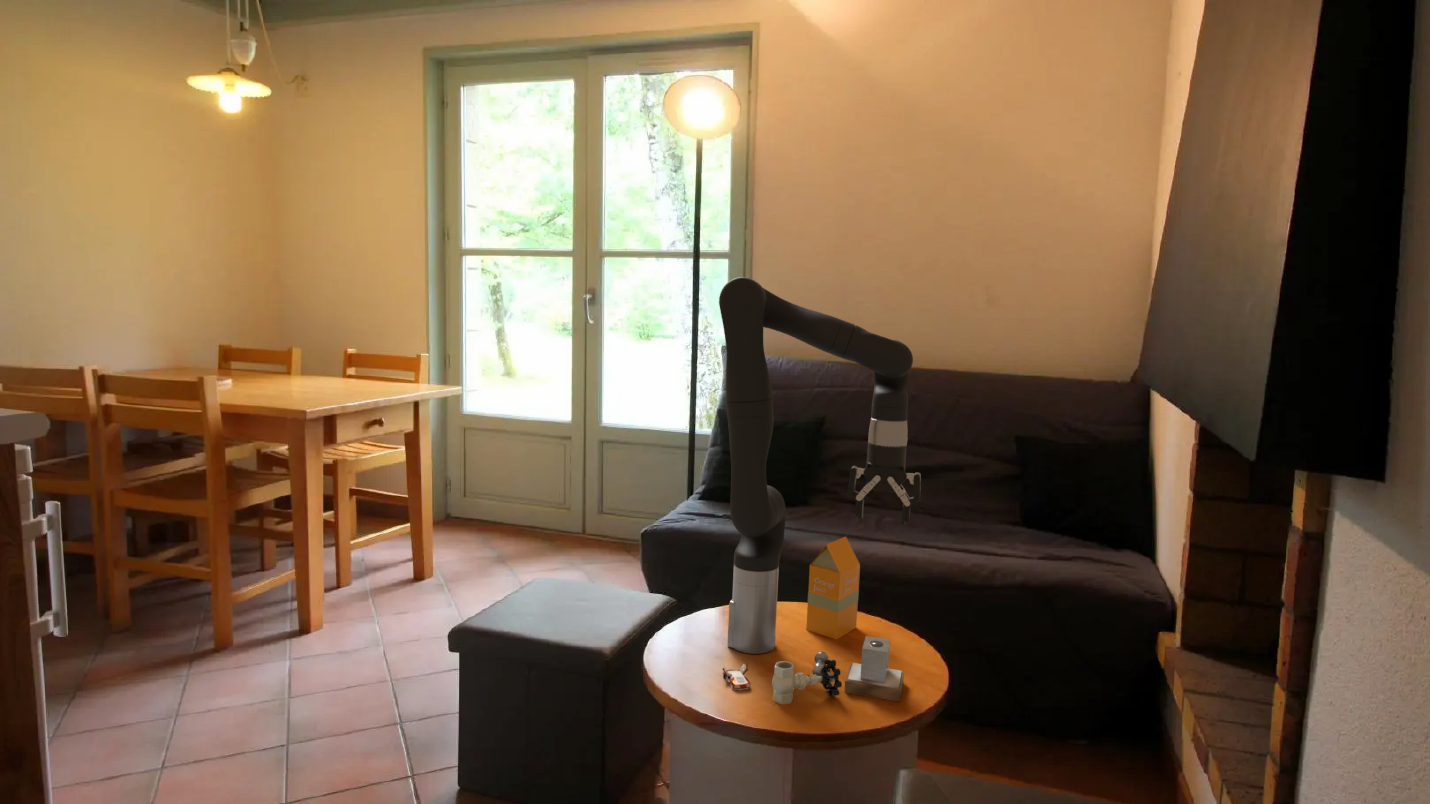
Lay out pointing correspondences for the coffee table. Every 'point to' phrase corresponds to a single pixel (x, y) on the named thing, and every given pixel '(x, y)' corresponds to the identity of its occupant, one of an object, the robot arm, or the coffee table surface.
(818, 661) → the steel bolt
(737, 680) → the toy car
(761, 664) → the coffee table surface
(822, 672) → the valve
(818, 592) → the orange juice
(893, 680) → the stand
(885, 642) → the block
